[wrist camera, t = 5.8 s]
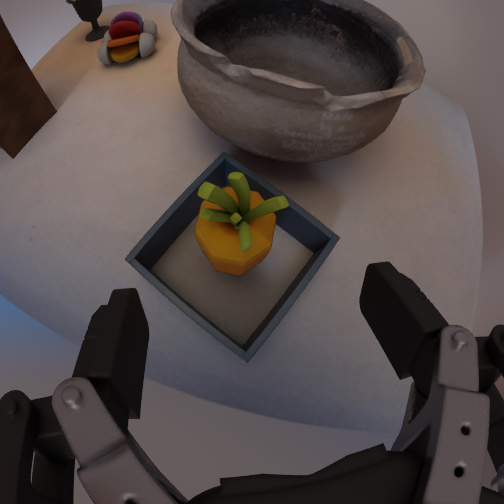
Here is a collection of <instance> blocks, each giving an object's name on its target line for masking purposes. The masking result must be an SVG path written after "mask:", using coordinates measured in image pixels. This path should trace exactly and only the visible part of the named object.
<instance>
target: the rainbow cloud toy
mask: <svg viewBox="0 0 504 504" xmlns="http://www.w3.org/2000/svg"><path fill="white" fill-rule="evenodd" d="M156 35H157V25H156V24H155V23H154V22H153V21H151V20H144V22H142V18H141V17H140V15H138V14H137V13H134V12H122V13H120V14H118V15H117V16H116V17H115V18H114V19H113V20H112V22H111V25H110V28H109V30H108V31H107V32H106V33H105V35H104V37H103V44H102V45H101V46H100V48H99V50H98V58H99V60H100V61H101V62H102V63H104V64H112V63H113V61H116V62H120V63H122V62H126V61H129V60H131V59H133V58H134V57H135V56H137V54H139V51H140V54H141V56H142V57H146V56H148V55H150V54H151V53H152V52H153V50H154V48H155V39H154V38H155V37H156Z"/></svg>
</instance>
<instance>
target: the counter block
mask: <svg viewBox="0 0 504 504" xmlns="http://www.w3.org/2000/svg"><path fill="white" fill-rule="evenodd" d="M56 112H57V111H56V109H55V108H54V106H53V105H52V103H51V102H50V100H49V99H48V97H47V95H46V94H45V92H44V91H43V89H42V88H41V86H40V84H39V83H38V81H37V80H36V78H35V76H34V75H33V73H32V71H31V70H30V68H29V66H28V65H27V63H26V61H25V60H24V58H23V56H22V54H21V53H20V51H19V49H18V47H17V45H16V44H15V42H14V40H13V38H12V37H11V34H10V33H9V31H8V29H7V27H6V26H5V23H4V21H3V19H2V17H1V15H0V147H1V148H2V149H3V150H4V151H5V152H6V153H7V154H9V155H10V156H11V157H12V158H14V157H15V156H16V155H17V154H18V152H19V151H20V150H21V149H22V148H23V147H24V145H25V144H26V143H27V142H28V141H29V140H30V139H31V138H32V137H33V135H34V134H35V133H36V132H37V131H38V130H39V129H40V128H41V127H42V126H43V125H44V124H45V123H46V122H47V121H48V120H49V119H50V118H51V117H52V116H53V115H54V114H55V113H56Z"/></svg>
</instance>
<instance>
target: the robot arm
mask: <svg viewBox="0 0 504 504" xmlns="http://www.w3.org/2000/svg"><path fill="white" fill-rule="evenodd" d="M359 303H360V309H361V312H362V314H363V316H364V317H365V319H366V321H367V323H368V324H369V326H370V328H371V329H372V331H373V333H374V335H375V336H376V338H377V340H378V341H379V343H380V345H381V347H382V348H383V350H384V352H385V354H386V356H387V357H388V359H389V361H390V363H391V365H392V366H393V368H394V370H395V372H396V374H397V376H398V377H399V379H400V380H401V379H404V378H407V377H410V376H412V378H413V379H414V381H413V382H412V384H411V388H410V393H409V398H408V402H407V407H406V411H405V416H404V420H403V424H402V427H401V430H400V433H399V435H398V436H397V438H396V440H395V442H394V444H393V446H392V449H391V451H386V449H385V446H384V444H383V443H382V444H380V445H377V446H375V447H371V448H369V449H365V450H362V451H359V452H356V453H353V454H350V455H347V456H345V457H344V458H342V459H340V460H338V461H336V462H335V463H333V464H331V465H329V466H327V467H325V468H323V469H321V470H319V471H317V472H315V473H313V474H311V475H276V474H257V475H249V476H240V477H230V478H220V484H221V485H220V486H217V487H214V488H211V489H209V490H206V491H204V492H202V493H200V494H198V495H197V496H195V497H194V498H192V499H191V500H189V501H188V500H187V499H186V498H185V497H184V496H183V495H182V494H181V493H180V492H179V491H178V490H177V489H176V487H175V486H174V485H173V484H172V483H170V481H169V480H168V479H167V478H166V477H165V476H164V475H163V474H162V473H161V472H160V471H159V470H158V468H157V467H156V466H155V465H154V464H153V462H152V461H151V460H150V459H149V457H148V456H147V455H146V453H145V452H144V451H143V449H142V448H141V447H140V446H139V444H138V443H137V442H136V440H135V439H134V438H133V436H132V435H131V433H130V432H129V430H128V419H140V409H141V399H142V389H143V380H144V372H145V364H146V357H147V349H148V342H149V326H148V322H147V319H146V316H145V313H144V310H143V307H142V304H141V301H140V298H139V295H138V292H137V290H136V289H135V288H126V289H114V290H113V291H112V294H111V297H110V299H109V302H108V305H101V306H100V307H99V309H98V310H97V311H96V312H95V313H94V314H93V316H92V318H91V320H90V323H89V326H88V330H87V332H86V334H85V337H84V338H85V340H83V343H82V346H81V349H80V352H79V356H78V359H77V362H76V366H75V369H74V372H73V375H72V378H69V379H66V380H64V381H63V382H62V383H60V384H59V385H58V386H57V388H56V389H55V391H54V393H53V395H52V396H49V397H44V398H39V399H35V400H30V399H29V398H28V397H27V396H26V395H25V394H24V393H23V392H21V391H18V390H14V391H10V392H8V393H6V394H5V395H4V396H3V397H2V398H1V399H0V504H73V493H74V492H73V491H74V468H75V458H76V459H77V461H78V463H79V465H80V468H79V469H77V474H78V477H79V479H80V481H81V483H82V485H83V487H84V488H85V490H86V492H87V493H88V495H89V497H90V498H91V500H92V501H93V503H94V504H504V400H503V398H502V396H501V395H500V393H499V391H498V390H497V388H496V386H495V384H494V383H495V382H496V381H497V379H498V378H499V377H500V376H501V374H502V376H503V377H504V325H496V326H495V327H494V328H493V330H492V331H491V333H490V335H489V336H488V337H474V336H473V334H472V333H471V332H470V331H469V330H467V329H466V328H464V327H462V326H459V325H449V324H448V323H447V322H446V320H445V319H444V318H443V316H442V315H441V314H440V313H439V311H438V310H437V309H436V308H435V307H434V305H433V304H432V303H431V302H430V300H429V299H427V297H426V296H425V294H424V293H423V292H422V291H420V288H419V287H418V286H417V285H416V284H415V283H414V281H413V280H411V279H410V278H408V277H407V276H405V275H403V274H402V273H399V272H398V271H397V270H396V268H395V267H394V266H393V265H392V264H391V263H390V262H388V261H387V262H379V263H372V264H369V265H368V266H367V269H366V273H365V277H364V282H363V286H362V290H361V294H360V300H359ZM487 450H488V452H489V454H490V457H491V459H492V461H493V464H494V467H495V469H496V472H497V476H496V477H494V478H493V480H492V482H491V488H492V489H493V490H494V491H493V490H491V489H488V488H486V487H484V486H482V482H483V476H484V469H485V462H486V454H487ZM34 452H35V457H34V464H33V473H32V485H31V468H32V460H33V453H34ZM496 490H498V492H496Z"/></svg>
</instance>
